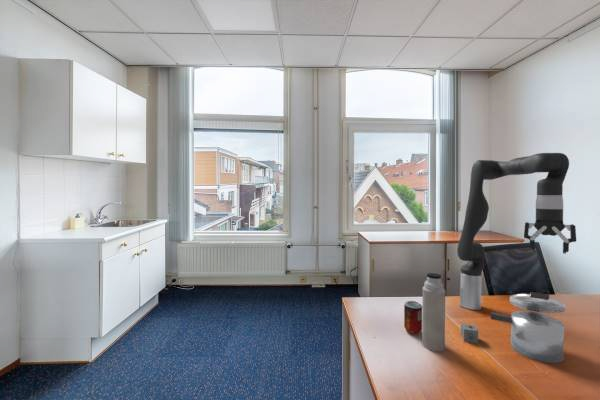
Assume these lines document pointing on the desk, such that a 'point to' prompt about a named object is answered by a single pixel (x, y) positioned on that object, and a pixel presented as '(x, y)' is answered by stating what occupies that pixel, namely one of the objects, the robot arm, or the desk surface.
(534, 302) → the pressure cooker lid
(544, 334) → the pressure cooker pot
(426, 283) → the thermos bottle
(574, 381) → the desk surface
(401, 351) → the desk surface
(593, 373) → the desk surface
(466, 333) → the dice cube
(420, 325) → the soda can
